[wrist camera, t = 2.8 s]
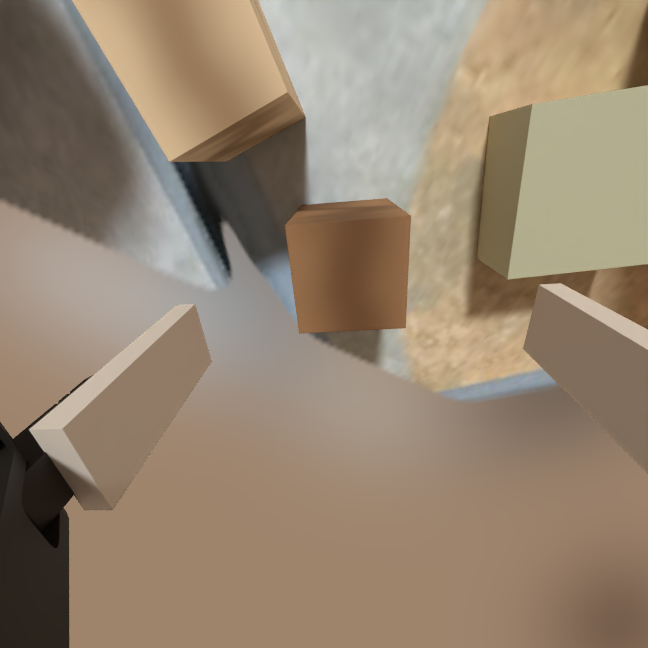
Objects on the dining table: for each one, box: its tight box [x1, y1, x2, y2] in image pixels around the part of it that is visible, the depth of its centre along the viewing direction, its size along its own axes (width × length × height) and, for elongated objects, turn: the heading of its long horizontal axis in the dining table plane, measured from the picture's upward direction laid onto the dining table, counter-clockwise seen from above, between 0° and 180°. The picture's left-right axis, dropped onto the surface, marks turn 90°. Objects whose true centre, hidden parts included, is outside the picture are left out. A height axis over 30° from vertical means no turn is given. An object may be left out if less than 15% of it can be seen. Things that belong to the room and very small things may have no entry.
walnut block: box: [285, 198, 411, 333], centre depth 20 cm, size 6×6×8 cm
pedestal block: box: [477, 85, 648, 280], centre depth 19 cm, size 9×9×5 cm
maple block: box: [72, 0, 305, 162], centre depth 16 cm, size 6×6×8 cm
